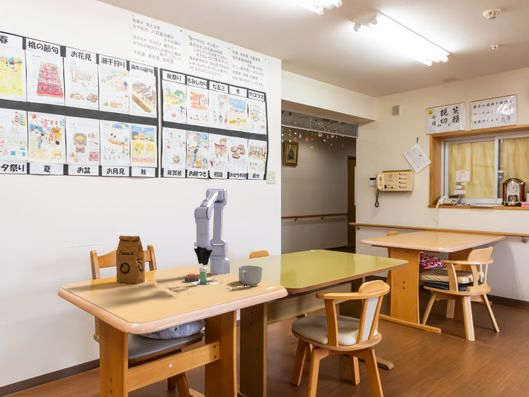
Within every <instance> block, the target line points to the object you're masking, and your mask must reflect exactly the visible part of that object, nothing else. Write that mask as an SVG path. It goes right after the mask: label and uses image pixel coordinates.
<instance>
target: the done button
mask: <svg viewBox="0 0 529 397" xmlns="http://www.w3.org/2000/svg"><path fill="white" fill-rule="evenodd" d="M186 277H187V278H188V279H192V278H196V277H197V275H196V273H194V272H193V273H187V275H186Z"/></svg>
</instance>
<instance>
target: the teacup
mask: <svg viewBox="0 0 529 397" xmlns="http://www.w3.org/2000/svg"><path fill="white" fill-rule="evenodd" d="M263 269H264V268H263V267H262V266H258V265H249V264H248V265H246V264H245V265H239V266H238V280H239V282H240V283H241V284H243V286H247V287H256V286H258V285H259V284H260V283H261V281H262V277H263V276H262V275H263Z"/></svg>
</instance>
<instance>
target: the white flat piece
mask: <svg viewBox="0 0 529 397" xmlns="http://www.w3.org/2000/svg"><path fill="white" fill-rule="evenodd" d="M184 282H186V283H188V284H192V285H193V286H195V287H202V286H203V287H204V286H212V285H218V284H223V282H222V281H219V280H217V279H215V278H212V277H210V276H209V277H208V276H207V284H200V277H197V276H196V278H192V279H188V278H187V276H185V277H184Z"/></svg>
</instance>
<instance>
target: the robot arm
mask: <svg viewBox="0 0 529 397" xmlns="http://www.w3.org/2000/svg"><path fill="white" fill-rule="evenodd" d="M227 203H228V190H227V189H226V188H225V187H223V188H207V189H206V190H205V198H204V199H203V200H202V202H201V203H200V205H199V206H197V207H195V208H194V212H193V213H194V214H193V216H194V222H195V225H196V227H195V228H196V230H195V231H196V242H194V244H193V246H194V248H193V250H194V252H195V255H196V258H197V263H198V265H202V266H208V265H209V262H210V265H209V266H210V267H209V269H210V270H209V271H210V272H209V273H210V275H214V276H215V275H216V276H217V275H218V276H219V275H226V274H230V273H231V269H230V268H231V265H230V264H231V262H230V259H229V257H227V256H228V253H229V249H228V242H227V241H226V240H225V239H223V228H224V227H223V224H224V218H223V217H224V208H225V206H227ZM212 211H213V224H212V225H213V226H212V227H213V228H212V238H211V239H210V220H211V219H212V218H211V217H212Z"/></svg>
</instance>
